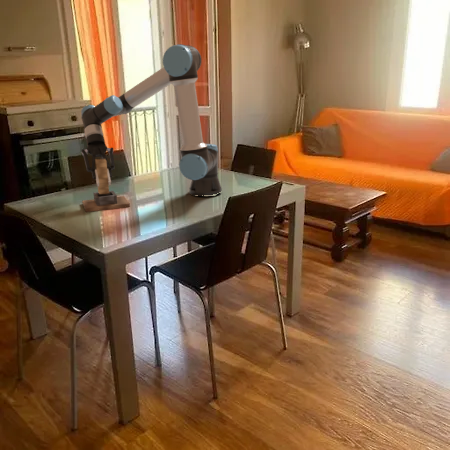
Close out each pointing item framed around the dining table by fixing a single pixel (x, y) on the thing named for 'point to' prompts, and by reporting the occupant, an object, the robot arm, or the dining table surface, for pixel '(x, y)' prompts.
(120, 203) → the post base
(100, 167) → the tan tall block
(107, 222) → the dining table surface
